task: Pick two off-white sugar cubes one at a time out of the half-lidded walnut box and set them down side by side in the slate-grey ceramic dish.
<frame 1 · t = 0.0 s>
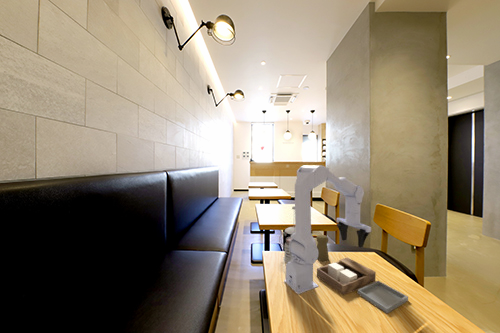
hand: (352, 243, 79), 10 cm above the table, fingers open, 7 cm apart
cube b: (348, 283, 66), resting on walnut box
slate dish: (382, 298, 60), on the table
cube a: (335, 276, 71), resting on walnut box
french press: (291, 260, 83), on the table
walnut box: (345, 279, 69), on the table
cork: (322, 259, 85), on the table
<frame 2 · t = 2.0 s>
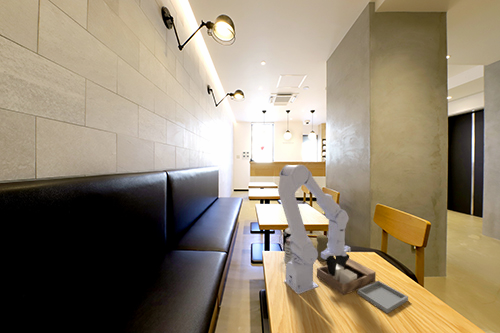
hand: (335, 273, 71), 2 cm above the table, fingers closed on cube a, 4 cm apart
cube a: (335, 276, 71), resting on walnut box, touching gripper
everything else where it was.
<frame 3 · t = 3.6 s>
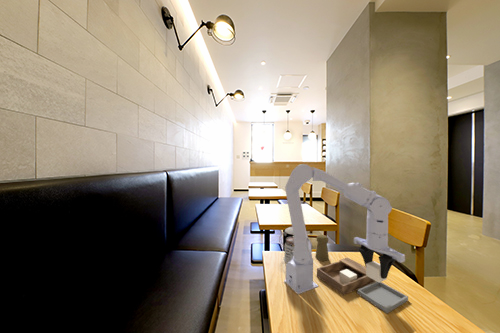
hand: (376, 273, 59), 9 cm above the table, fingers closed on cube a, 4 cm apart
cube a: (376, 277, 59), point 7 cm above the table, touching gripper
everything else where it was.
when the fingers open (4 cm above the table, at t = 5.0 s): cube a drops 2 cm, resting on slate dish.
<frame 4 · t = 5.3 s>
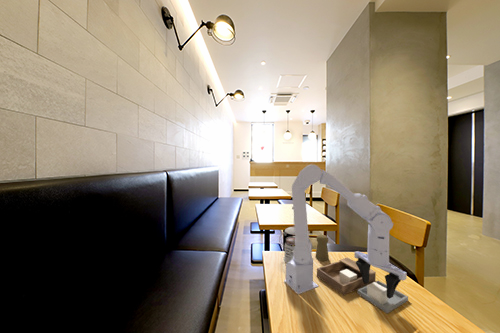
hand: (377, 289, 58), 4 cm above the table, fingers open, 7 cm apart
cube a: (377, 299, 58), resting on slate dish
everything else where it was.
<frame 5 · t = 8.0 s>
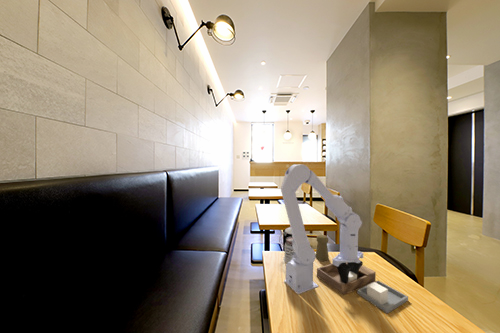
hand: (348, 280, 66), 2 cm above the table, fingers closed on cube b, 4 cm apart
cube b: (348, 283, 66), resting on walnut box, touching gripper
everything else where it was.
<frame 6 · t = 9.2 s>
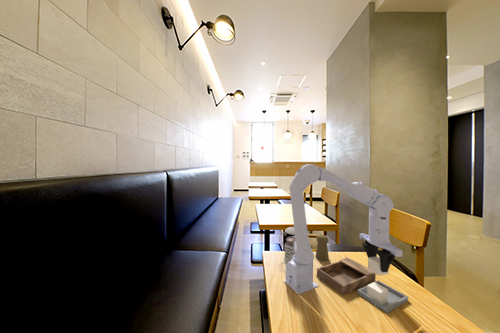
hand: (378, 267, 62), 9 cm above the table, fingers closed on cube b, 4 cm apart
cube b: (378, 271, 62), point 8 cm above the table, touching gripper
everything else where it was.
when the fingers open (4 cm above the table, at t = 10.7 s): cube b drops 2 cm, resting on slate dish.
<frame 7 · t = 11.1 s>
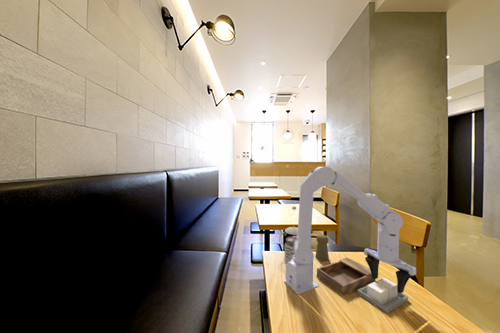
hand: (387, 284, 61), 4 cm above the table, fingers open, 7 cm apart
cube b: (387, 294, 61), resting on slate dish
everything else where it was.
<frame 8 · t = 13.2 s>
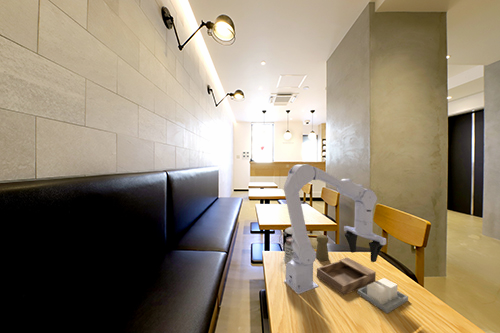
hand: (362, 256, 67), 10 cm above the table, fingers open, 7 cm apart
nothing on the table moved.
at the end: cube a inside the target area on the slate dish (2.8 cm from its centre), point 0.5 cm above the slate dish's base; cube b inside the target area on the slate dish (2.7 cm from its centre), point 0.5 cm above the slate dish's base; the gripper is holding nothing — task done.
